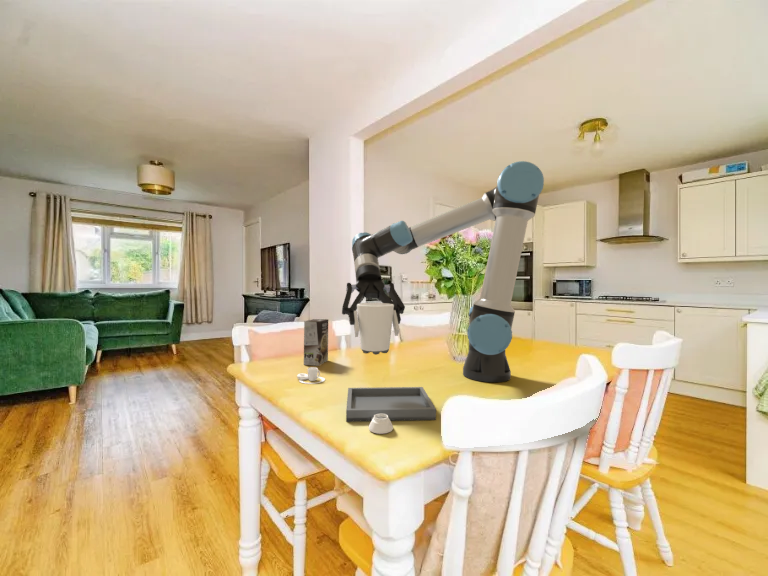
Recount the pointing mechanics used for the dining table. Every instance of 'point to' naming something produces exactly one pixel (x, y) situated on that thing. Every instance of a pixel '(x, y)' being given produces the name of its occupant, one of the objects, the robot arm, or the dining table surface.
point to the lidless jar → (380, 424)
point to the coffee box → (315, 342)
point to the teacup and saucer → (310, 375)
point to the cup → (375, 326)
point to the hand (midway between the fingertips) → (377, 333)
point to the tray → (389, 404)
